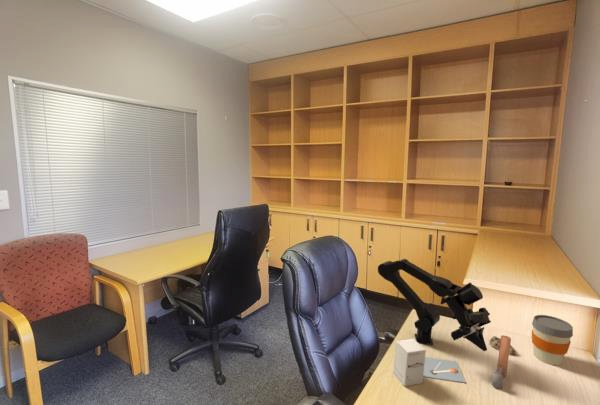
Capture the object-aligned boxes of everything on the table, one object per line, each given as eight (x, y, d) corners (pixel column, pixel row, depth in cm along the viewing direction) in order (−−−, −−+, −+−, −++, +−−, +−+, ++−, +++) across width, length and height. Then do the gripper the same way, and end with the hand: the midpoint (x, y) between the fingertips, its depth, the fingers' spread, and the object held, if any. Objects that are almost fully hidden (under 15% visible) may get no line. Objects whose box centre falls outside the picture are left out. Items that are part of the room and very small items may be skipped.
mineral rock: (483, 337, 138) (498, 330, 139) (484, 346, 139) (499, 339, 141) (505, 353, 128) (521, 345, 129) (505, 362, 129) (522, 354, 130)
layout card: (417, 356, 126) (417, 355, 126) (455, 361, 124) (456, 360, 124) (423, 376, 115) (423, 375, 115) (465, 383, 112) (465, 382, 112)
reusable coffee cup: (575, 370, 121) (581, 333, 119) (537, 365, 123) (542, 328, 121) (556, 351, 133) (561, 316, 131) (522, 346, 135) (526, 312, 133)
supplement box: (404, 387, 109) (407, 352, 107) (392, 373, 116) (395, 340, 114) (423, 383, 111) (426, 349, 109) (410, 370, 118) (413, 337, 116)
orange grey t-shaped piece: (501, 390, 109) (506, 351, 107) (490, 385, 111) (495, 347, 109) (506, 374, 117) (511, 337, 115) (497, 370, 119) (501, 334, 117)
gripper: (462, 307, 116) (490, 352, 109) (488, 296, 127) (516, 336, 119) (439, 319, 124) (465, 361, 116) (466, 307, 134) (491, 345, 127)
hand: (485, 350), depth 119 cm, fingers closed
